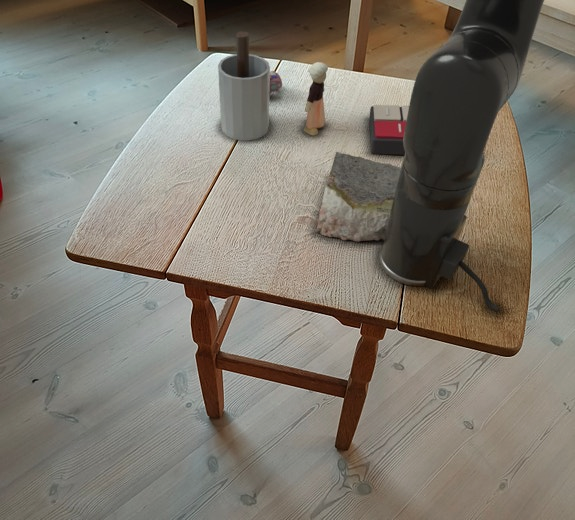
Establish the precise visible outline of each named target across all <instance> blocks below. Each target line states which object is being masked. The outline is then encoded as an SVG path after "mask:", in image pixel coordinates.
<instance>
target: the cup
mask: <svg viewBox="0 0 575 520" xmlns="http://www.w3.org/2000/svg"><path fill="white" fill-rule="evenodd" d="M217 72H218V75H217V76H218V90H219V91H218V92H219V93H218V94H219V105H220V106H219V108H220V109H219V111H220V125H221V130H222V133H223V134H224V135H225V136H227V137H228V138H230V139H233V140H235V141H236V140H237V141H245V142H246V141H247V142H248V141H254V140H257V139H258V140H259V139H260V138H262V137H264V136H265V135H266V134H267V133H268V131H269V127H270V95H269V92H270V72H271V66H270V63H269V62H268V60H266V59H265V58H264V57H262V56H259V55H256V54H251V53H249V78H239V77H238V74H237V53H235V54H231V55H227V56H225V57H224V58H222V59H221V60H220V61H219V63H218V64H217Z"/></svg>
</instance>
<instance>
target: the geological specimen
mask: <svg viewBox="0 0 575 520" xmlns="http://www.w3.org/2000/svg"><path fill="white" fill-rule="evenodd" d="M329 171H330V172H329V175H328V178H327V181H326V185H325V188H324V192H323V196H322V200H321V206H320V209H319V215H318V220H317V226H316V231H315V232H316V233H318V234H321V236H324V237H328V238H338V239H341V240H342V241H347V240H351V241H353V242H363V241H380V240H382V241H384V238H385V233H386V229H387V225H388V221H389V217H390V212H391V208H392V204H393V200H394V196H395V192H396V188H397V184H398V179H399V175H400V171H401V167H399V166H396V165H393V164H391V163H385V162H384V163H383V162H379V161H375V160H371V159H369V158H364V157H363V156H362V157H361V156H355V155H352V154H349V153H344V152H340V151H336V152H335V154H334V157H333V162H332V165H331V168H330V170H329Z"/></svg>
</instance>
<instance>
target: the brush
mask: <svg viewBox="0 0 575 520" xmlns="http://www.w3.org/2000/svg"><path fill="white" fill-rule="evenodd" d="M235 36H236V37H235V39H236V54H237V74H238V77H239V78H249V54H250V34H249V32H247V31H238V32H236V35H235Z"/></svg>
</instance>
